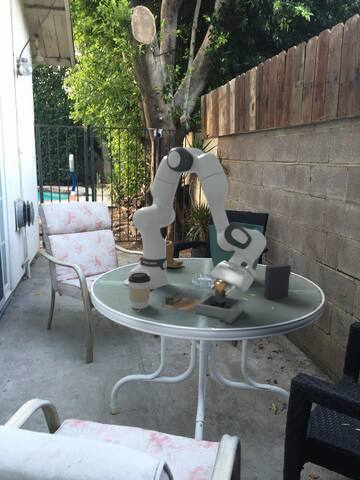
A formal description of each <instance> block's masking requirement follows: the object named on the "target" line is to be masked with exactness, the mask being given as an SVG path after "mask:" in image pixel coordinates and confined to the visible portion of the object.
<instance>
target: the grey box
mask: <svg viewBox="0 0 360 480" xmlns="http://www.w3.org/2000/svg"><path fill="white" fill-rule="evenodd" d="M291 269H292V265H289V264H287V263H282V264H269V265H266V266H265V274H264V276H265V277H264V291H263V292H264V295H263V298H264V299H266V300H267V301H269V300H277V299H285V298H289V290H290V289H289V288H290V277H291V276H290V275H291V271H292V270H291Z"/></svg>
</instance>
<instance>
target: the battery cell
mask: <svg viewBox="0 0 360 480" xmlns="http://www.w3.org/2000/svg"><path fill="white" fill-rule="evenodd" d="M227 286H228V285H227V282H224V281H223V280H219V281H216V284H215V290H214V295H215V304H213V305H214V307H219V308H225V309H226V307H227V306H226V297H227V296H226V295H225V293H226V291H227Z"/></svg>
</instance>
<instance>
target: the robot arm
mask: <svg viewBox="0 0 360 480" xmlns="http://www.w3.org/2000/svg"><path fill="white" fill-rule="evenodd" d="M183 174H196V176H197V178H198V181H199V184H200V186H201V189H202V191H203V194H204V197H205V199H206V201H207V202H206V203H207V205H208V208H209V211H210V215H211V219H212V223H213V225H214V226H215V230H216V246H217V248H218V249H219V250H220V251H221V252H223V253H233V252H234V251H235V253H234V255H233V256H232V257H231V259H230V260H229V261H228V262H227V261H223V262H224V263H223V262H221V263H219V264H218V265H217V266H216V267H215V268H214V267H213V269H212V270H211V271H210V273H209V276H210V278H212V283H211V285H210V287H209V288H210V290H212V291H215V284H216V281H219V280H223V281H224V282H227V286H229V287H231V289H229V290H226V293H225V295H226V297H231V296H232V295H233V294H235V293H237V292H238V291H241V292H246V291H248V290H249V288H250V287H251V285H252V284H253V282H254V278H255V279H256V278H257V276H258V274H257V271H256V270H255V271H254V269H253V268H252V266H253V263H254V261H255V260H256V259H258V257H259V256H261V255H262V254H263V251H264V250H265V248H266V246H267V239H266V238H267V237H266V236H265V235H264V233H263V234H262V233H261V232H259V231H258V230H249V229H246V228H244V227H242V226H240V225H238V224H231V225H229V223H230V222H229V219H228V216H227V213H226V207H225V206H226V200H227V195H228V193H229V184H228V183H229V182H228V179H227V176H226V173H225V170H224V168H223V166H222V164H221V162H220V161H219V159H218V157H217V155H215V154H214V153H213V152H207V151H205V150H203V149H201V148H195V147H192V146H188V147H187V146H186V147H182V146H177V147H173V148H171V149H170V150H169V151H168V153H167V155H165V156H163V158H162V159H161V161H160V163H159V165H158V168H157V170H156V173H155V176H154V179H153V182H152V185H151V189H150V193H151V195H152V197H153V201H152V204H151V205H150V206H143V207H141V208H139V209H137V210H136V211H135V212H134V213H133V216H132V222H133V223H132V224H133V226H134V227H135V228H136V229H137V230H138V232H139V233H140V236H141V240H142V256H141V257H139V258H138V262H139V264H137V265H136V266H134V268H132V269H131V270H130V271H129V273H128V278H127V279H125V280H124V281H123V285H124V286H128V287H129V281H128V279H129V277H130V276H131V274H133V273H146V274H148V276H150V279H151V280H150V290H151V291H152V290H157V289H159V288H161V287H163V286H166V285H168V286H169V285H170V282H169V279H168V273H167V268H168V267H167V257H166V241H167V240H166V239H165V238H164V237H163V236H162V232H161V229H162V228H166V227H168V226H169V225H171V224H172V223H173V222H175V219H176V211H175V209H174V199H175V194H176V191H177V189H178V186H179V183H180V180H181V176H182V175H183ZM259 258H260V257H259Z"/></svg>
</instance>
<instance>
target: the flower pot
mask: <svg viewBox="0 0 360 480" xmlns="http://www.w3.org/2000/svg"><path fill="white" fill-rule="evenodd" d="M231 224H238V225H240V226H242V227H244V228H246V229H249V230H258V231H259V232H261V233H262V234H263V235H264V225H257V224H249V223H244V222H243V223H242V222H238V221H237V222H234V221H233V222H229V225H231ZM208 231H209V247H210V255H211V261H212V266H213V269H214V268H215V267H216V266H217V265H218V264H219V263H221V262H223V261H227V262H228V261H229V260H230V259H231V257H232V256H233V255H234V253H235V251H234V252H233V253H223V252H221V251H220V250H219V249H218V248H217V246H216V230H215V226H214V224H211V225H209V226H208ZM260 256H261V255H260ZM260 256H259V257H258V259H256V260H255V261H254V263H253V266H252V268H253V269H254V271H255V272H256V270H257V267H258V264H259V260H260ZM223 263H224V262H223Z"/></svg>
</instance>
